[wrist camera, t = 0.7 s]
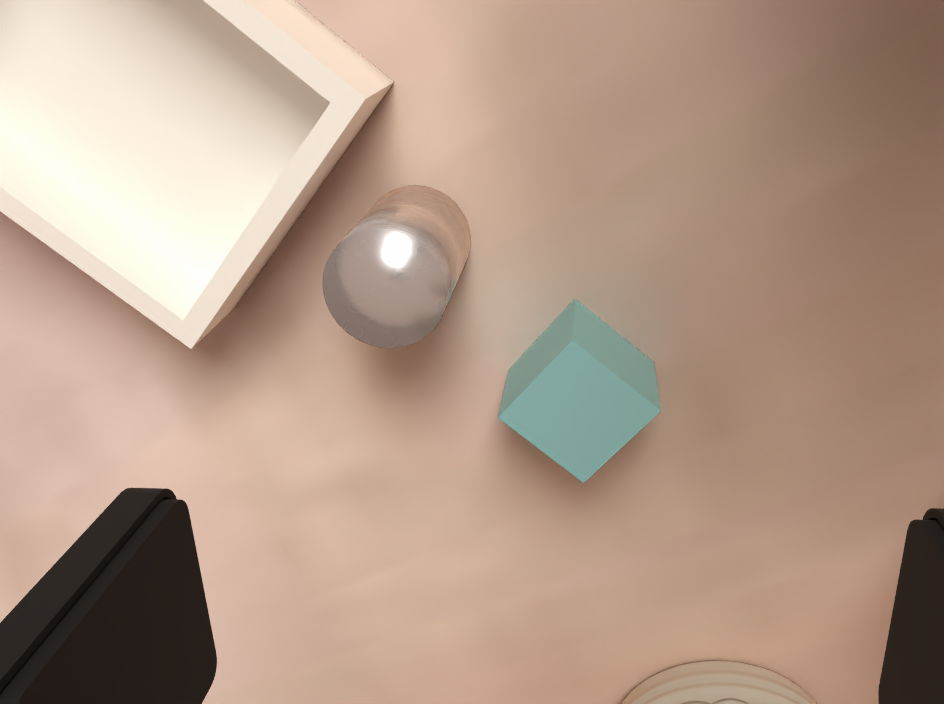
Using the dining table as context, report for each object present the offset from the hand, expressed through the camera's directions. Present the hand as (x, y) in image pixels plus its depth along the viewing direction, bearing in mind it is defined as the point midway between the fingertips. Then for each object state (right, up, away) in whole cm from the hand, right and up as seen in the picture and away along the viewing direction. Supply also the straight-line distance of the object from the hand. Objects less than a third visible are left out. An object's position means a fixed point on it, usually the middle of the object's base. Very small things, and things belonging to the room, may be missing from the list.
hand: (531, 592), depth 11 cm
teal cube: (+5, +2, +30) cm, 31 cm away
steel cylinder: (-3, +8, +29) cm, 30 cm away
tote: (-15, +16, +27) cm, 35 cm away
